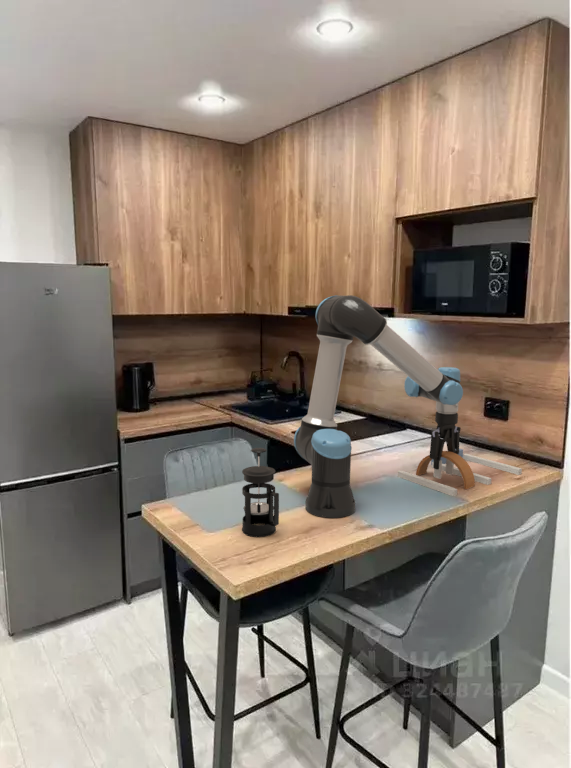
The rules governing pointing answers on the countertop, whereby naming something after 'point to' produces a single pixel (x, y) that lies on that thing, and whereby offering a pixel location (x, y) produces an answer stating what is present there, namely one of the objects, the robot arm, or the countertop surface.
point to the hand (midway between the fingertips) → (443, 475)
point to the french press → (259, 510)
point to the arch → (459, 463)
